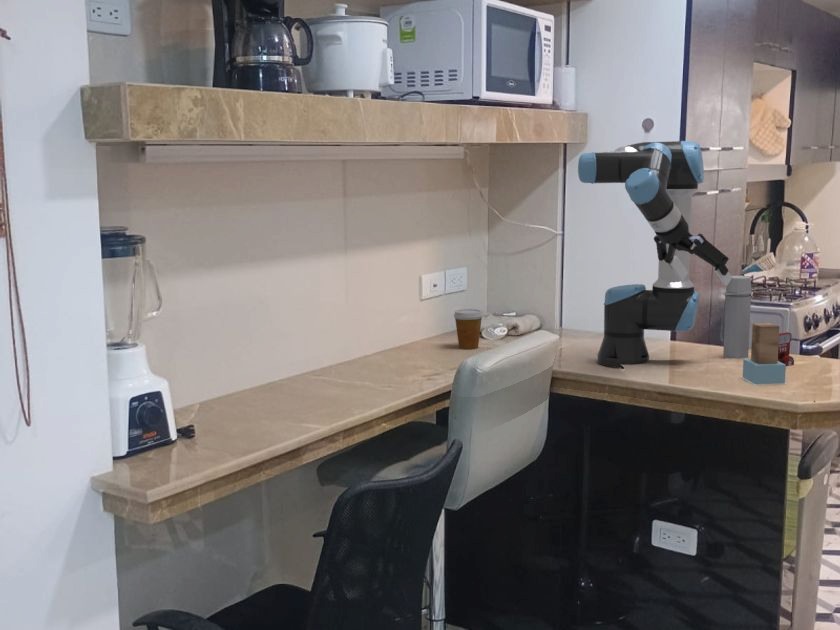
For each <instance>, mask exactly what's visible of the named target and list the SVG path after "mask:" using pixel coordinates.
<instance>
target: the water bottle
mask: <svg viewBox="0 0 840 630" xmlns="http://www.w3.org/2000/svg"><path fill="white" fill-rule="evenodd" d="M731 276H732V279H731V280H730V282H729V284H728V285H727V286H725V292H724V291H723V293H722V295H724V303H723V312H722V319H721V324H720V331H719V332H720V333H719V334H720V335H719V336H720V337H719V338H720V341H721V342H723V350H722V351H723V352H722V355H723V356H722V357H723V358H724V359H749V351H750V350H749V349H750V348H749V347H750V328H751V325H750V324H751V307H752V306H751V304H752V303H751V302H752V296H751V295H752V278H751V276H745V275H731ZM723 330H724V331H723ZM723 332H724V333H723Z"/></svg>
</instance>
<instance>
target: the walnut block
mask: <svg viewBox="0 0 840 630" xmlns="http://www.w3.org/2000/svg"><path fill="white" fill-rule="evenodd" d="M751 329H752V330H751V349H750V354H751V355H750V359H751V361H753V362H755V363H757V364H778V345H779V334H780V326H779V325H778V324H774V323H773V322H772V323H771V322H764V323H762V322H761V323H760V322H759V323H756V322H755V323H752V328H751Z"/></svg>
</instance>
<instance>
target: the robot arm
mask: <svg viewBox="0 0 840 630" xmlns="http://www.w3.org/2000/svg"><path fill="white" fill-rule="evenodd" d="M578 158H579V159H578V163H577V164H578V165H577V173H578V175H577V176H578V179H579V181H580V182H581V183H584V184H616V183H617V184H624V189H625V190H626V193H627V194H628V196H629V198H630V200H631V201H632V202H633V204H634V205H635V206H636V208H637V209H638V210H639V211H640V213H641V215H643V217H644V219H645V220H646V221H647V223H648V224H649V226H650V227H651V229H652V230H653V231H654V233H655V235H654V237H653V240H654V242H655V245H656V250H657V258H658V272H657V273H658V274H657V276H658V277H657V280H655V281H654V283H652V287H651V288H652V289H647V287H646V285H644V284H643V283H641V284H639V283H637V284H635V283H634V284H624V285H617V286H612V287H610V288H608V289H607V290H606V291H605V295H604V303H603V305H604V309H603V310H604V311H603V313H604V315H603V317H604V320H603V338H602V340H601V344H600V346H599V350H598V352H597V363H598V364H599V365H601V366H605V367H611V368H620V369H624V368H625V367H624V365H625V366H626V365H627V366H628V365H642V364H646V363H648V362H650V354H649V351H648V347H647V344H646V341H645V330H649V331H668V332H669V331H670V332H675V333H677V332H690V331H691V330H692V329H693V327H694V325H695V323H696V318H697V314H698V308H699V303H700V292H698V291H696V290H695V284H693V282H692V281H691V280H690V262H691V261H690V259H691V258H690V257H691V256H690V255H695V256H697V257H698V258H700V259H701V260H702V261H704V262H706V263H708V264H710V265H711V266H712V267H713V268H712V269H713V271H714V272H715V274H716V275H717V277H718V278H719V280H720V281H721V283H722V284H723V286H725V287H726V286H727V285H728V284H729V282H730V280H731V279H732V276H733V275H731V273H730V272H729V269H728V267H727V266H726V265H727V263H728V261H729V259H730V258H729V257H728V256H727V255H725V254H724V253H723V252H722V251H720V250H719V249H718V248H717V247H716V246H714V245H713V244H712V243H711V242H709V240H708V239H706V238H705V236H704V235H703V234H702V233H698V234H697V235H696V236H694V235H692V234H691V233H692V232H691V231H692V230H691V229H692V228H691V227H692V205H693V204H692V202H693V201H692V200H693V199H692V197H693V195H694V194H695V193H696V192H697V191H698V188H699V186H698V185H699V184H702V183H703V182H704V181H705V180H704V179H705V177H704V176H705V174H704V173H705V172H704V160H703V153H702V149H701V146H700V144H699V143H698V142H697V141H688V140H687V141H686V140H677V141H676V140H675V141H651V142H650V141H645V142H644V141H643V142H637V143H632V144H628V145H625V146H620V147H617V148H616V149H615V150H614V151H605V152H604V151H603V152H594V151H592V152H583V153H582V154H581V155H580V156H579V157H578ZM693 245H694V247H693ZM692 247H693V248H692ZM622 365H623V366H622Z"/></svg>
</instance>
